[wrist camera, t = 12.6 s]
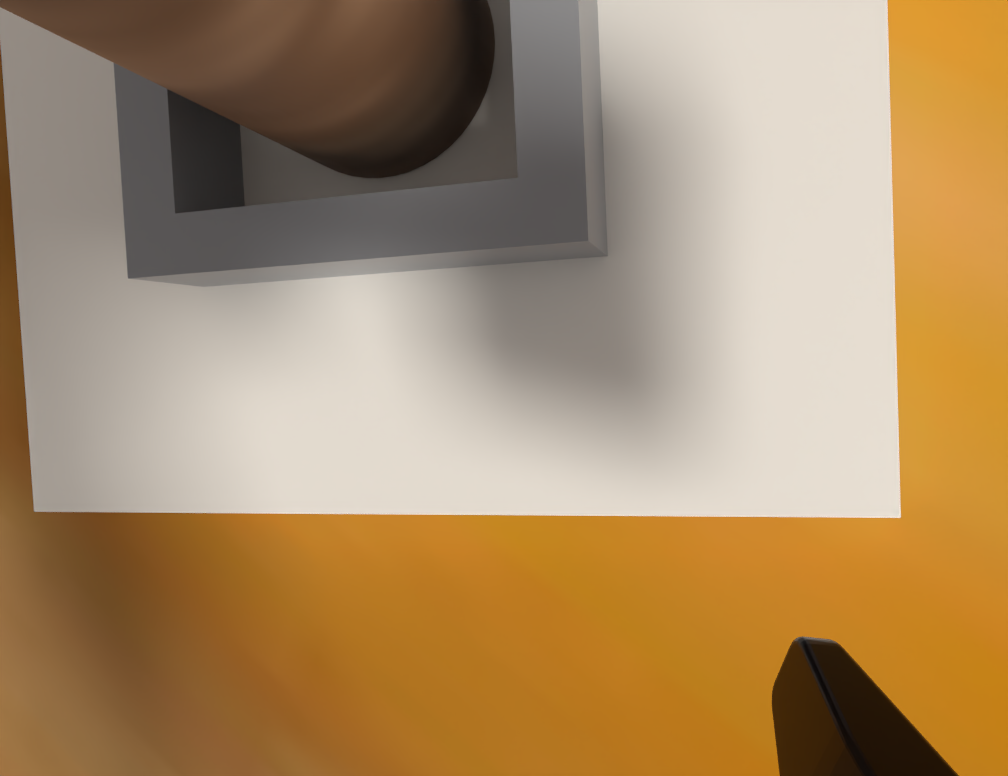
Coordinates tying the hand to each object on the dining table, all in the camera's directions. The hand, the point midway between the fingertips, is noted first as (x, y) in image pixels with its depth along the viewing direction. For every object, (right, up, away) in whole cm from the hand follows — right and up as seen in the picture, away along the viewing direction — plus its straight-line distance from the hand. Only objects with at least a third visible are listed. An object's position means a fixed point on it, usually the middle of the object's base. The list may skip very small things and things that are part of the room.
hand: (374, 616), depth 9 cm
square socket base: (-1, +10, +10) cm, 14 cm away
